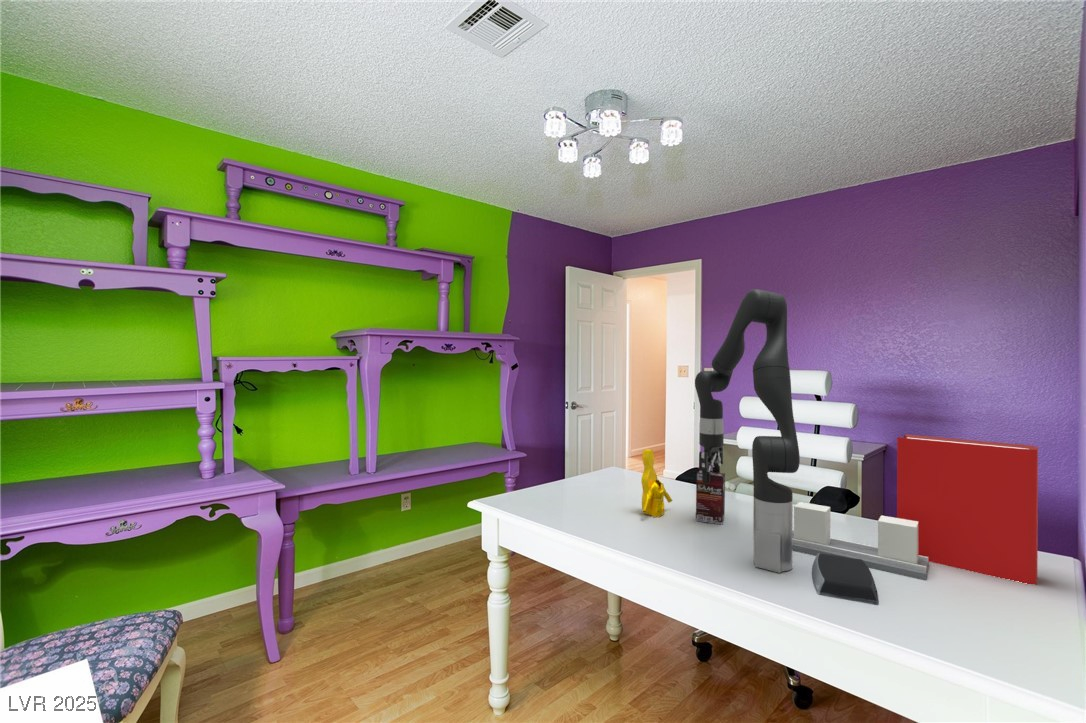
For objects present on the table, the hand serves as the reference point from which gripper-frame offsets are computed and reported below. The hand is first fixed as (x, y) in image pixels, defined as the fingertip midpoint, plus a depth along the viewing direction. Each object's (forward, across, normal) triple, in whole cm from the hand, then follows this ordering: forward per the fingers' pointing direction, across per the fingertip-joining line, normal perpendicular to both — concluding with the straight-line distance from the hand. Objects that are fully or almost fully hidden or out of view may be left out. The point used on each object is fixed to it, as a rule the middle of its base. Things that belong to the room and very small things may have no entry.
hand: (711, 480), depth 167 cm
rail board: (+13, -4, -41) cm, 43 cm away
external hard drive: (+14, -24, -42) cm, 50 cm away
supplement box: (+14, 0, 0) cm, 14 cm away
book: (+13, +8, -64) cm, 66 cm away
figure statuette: (+14, -6, +18) cm, 23 cm away
